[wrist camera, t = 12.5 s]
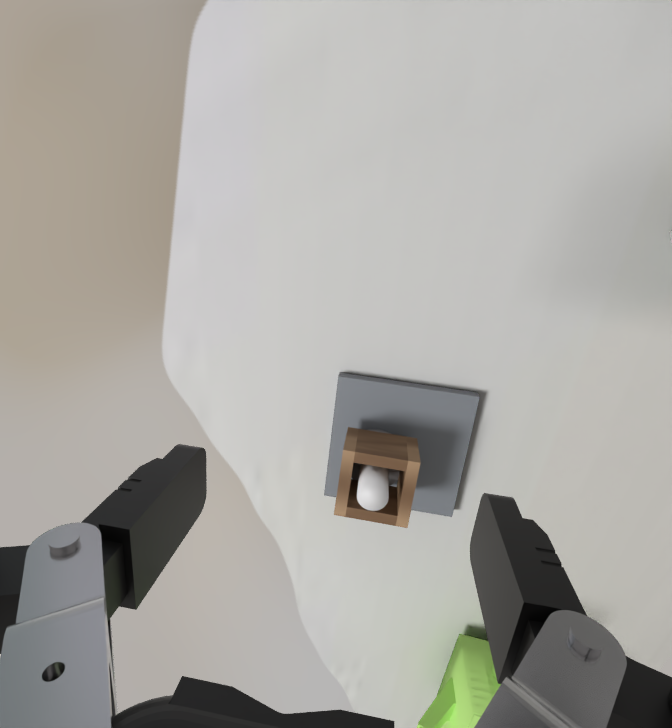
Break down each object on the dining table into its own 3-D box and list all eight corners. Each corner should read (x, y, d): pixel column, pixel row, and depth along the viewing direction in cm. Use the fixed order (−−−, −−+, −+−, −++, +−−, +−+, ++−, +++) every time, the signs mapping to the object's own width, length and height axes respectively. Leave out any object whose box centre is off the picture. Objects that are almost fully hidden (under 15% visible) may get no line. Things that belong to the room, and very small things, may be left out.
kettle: (510, 597, 45) (549, 707, 35) (575, 683, 48) (630, 811, 37) (395, 647, 49) (397, 761, 39) (460, 725, 52) (480, 851, 41)
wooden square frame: (347, 427, 39) (343, 449, 35) (417, 438, 38) (420, 462, 34) (339, 486, 41) (333, 514, 37) (405, 497, 40) (407, 527, 36)
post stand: (339, 372, 40) (328, 405, 32) (477, 392, 39) (498, 431, 31) (325, 488, 44) (312, 542, 36) (450, 509, 43) (463, 569, 35)
